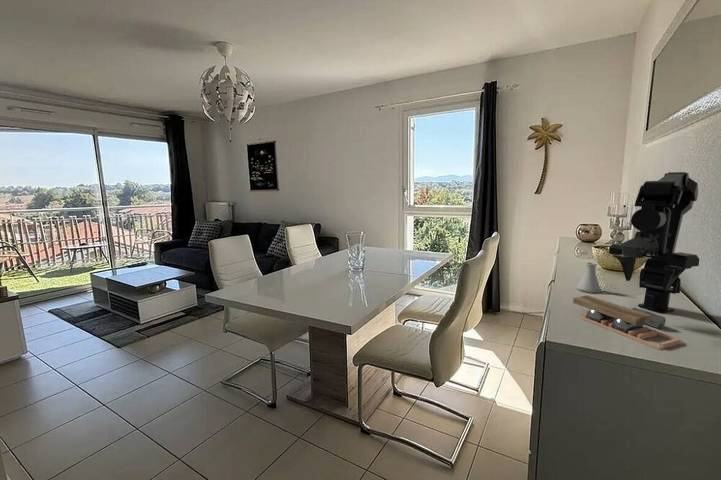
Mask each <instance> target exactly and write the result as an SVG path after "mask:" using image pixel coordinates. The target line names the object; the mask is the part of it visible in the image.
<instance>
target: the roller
mask: <svg viewBox="0 0 721 480" xmlns="http://www.w3.org/2000/svg"><path fill="white" fill-rule="evenodd" d="M631 309H633V310H636V311H639V312H642V313H645V314H649V315H651V321H650V322H646V323H644V325H646V326H649V327H653V328H656V329H658V330H659V329H660V330H661V329H663V328H664V327H665V325H666V320H667V319H666V318H665V316H663V315H659V314H656V313H654V312H651V311H647V310H644V309H640V308H638V307H632V308H631Z"/></svg>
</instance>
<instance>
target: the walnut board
mask: <svg viewBox="0 0 721 480" xmlns="http://www.w3.org/2000/svg"><path fill="white" fill-rule="evenodd" d="M572 303H573V304H574V305H578V306H580V307H584V308H586V309H589V310H594V311H597V312H600V313H603V314H606V315H608V316H611V317H614V318H617V319H620V320H623V321H626V322H628V323H631V324H634V325H637V324H642V323H646V322H650V321H651V315H649V314H645V313H642V312H639V311H636V310H633V309H632V308H629V307H626V306H623V305H619V304H617V303H613V302H610V301H607V300H605V299H604V300H603V299H601V298H598V297H595V296H591V295H582V296H576V297H573V299H572Z"/></svg>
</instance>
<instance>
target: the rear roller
mask: <svg viewBox="0 0 721 480" xmlns="http://www.w3.org/2000/svg"><path fill="white" fill-rule="evenodd" d="M585 314H586V315H587V319H590V320H593V321H595V322H598V323H601V321H603V320H607V319H612V318H614V317H611V316H608V315H606V314H603V313H600V312H597V311H594V310H591V309H589V310H588V311H587V312H586V313H585Z"/></svg>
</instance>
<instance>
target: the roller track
mask: <svg viewBox="0 0 721 480" xmlns="http://www.w3.org/2000/svg"><path fill="white" fill-rule="evenodd" d="M586 314H587V313H584V314H583V316H581V317H580V319H581V320H583V321H585V322H587V323H590V324H592V325H595V326H598V327H600V328H603V329H605V330H609V331H610V332H612V333H616V334H618V335H620V336H623V337H626V338H629V339H631V340H634V341H636V342H638V343H641V344H644V345H646V346H648V347H651V348H654V349H656V350H660V351H661V350H662V349H667V348H671V347H674V346H678V345H681V344H684V342H685V341H684V339H681V338H678V337H674V336H671V335H669V334H665V333H664V332H660V331H659V330H655V329H652V328H650V327H648V326H643V327H642V328H639V329H635V330H631V331H628V332H621V331H619V330H616V329H613V327H612V322H613V321H614V320H616V319H617V318H612V319H607V320H603V321H601V322H595V321H593V320H590V319H587V315H586ZM656 336H659V337H663V338H666V339H667V341H662V342H659V345H658V344H654V343H652V342H650V341H647V340H646V339H648V338H652V337H656Z"/></svg>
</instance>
